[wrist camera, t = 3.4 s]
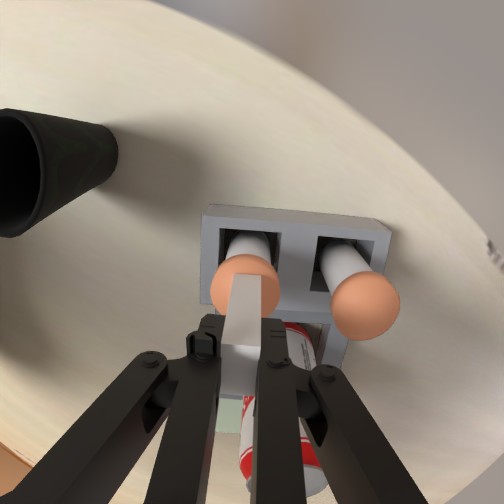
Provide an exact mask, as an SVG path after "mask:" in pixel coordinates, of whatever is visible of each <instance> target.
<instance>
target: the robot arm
mask: <svg viewBox="0 0 504 504" xmlns="http://www.w3.org/2000/svg"><path fill="white" fill-rule="evenodd" d="M186 345H187V356H185V357H183V358H180V359H174V360H167V358H166V357H165V356H164V354H162V353H160V352H155V351H146V352H143V353H141V354H139V355H138V356H136V357H135V359H134V360H133V361H132V362H131V363H130V364H129V365H128V366H127V367H126V368H125V369H124V370H123V371H122V372H121V373H120V375H119V376H118V377H117V378H116V379H115V380H114V381H113V382H112V383H111V384H110V385H109V386H108V387H107V388H106V389H105V391H104V392H103V393H102V394H101V395H100V396H99V397H98V398H97V399H96V400H95V401H94V402H93V403H92V405H91V406H90V407H89V408H88V409H87V410H86V411H85V412H84V413H83V414H82V415H81V416H80V417H79V419H78V420H77V421H76V422H75V423H74V424H73V425H72V426H71V427H70V428H69V429H68V430H67V432H66V433H65V434H64V435H63V436H62V437H61V438H60V439H59V440H58V441H57V442H56V443H55V445H54V446H53V447H52V448H51V449H50V450H49V451H48V452H47V453H46V454H45V455H44V457H43V458H42V459H41V460H40V461H39V462H38V463H37V464H36V465H35V466H34V468H33V469H32V470H31V471H30V472H29V473H28V474H27V475H26V476H25V478H24V479H23V480H22V481H21V482H20V483H19V484H18V485H17V486H16V488H15V489H14V490H13V491H11V492H9V493H7V494H5V495H3V496H1V497H0V504H108V503H109V501H110V500H111V499H112V497H113V496H114V494H115V493H116V491H117V490H118V488H119V487H120V486H121V484H122V483H123V481H124V480H125V478H126V477H127V475H128V474H129V472H130V471H131V470H132V468H133V467H134V465H135V464H136V462H137V461H138V459H139V458H140V456H141V455H142V453H143V452H144V450H145V449H146V447H147V446H148V445H149V443H150V442H151V440H152V439H153V437H154V436H155V434H156V433H157V431H158V430H159V428H160V427H161V425H162V424H163V422H164V421H165V419H166V418H167V416H168V419H167V422H166V426H165V429H164V433H163V436H162V440H161V443H160V447H159V450H158V454H157V457H156V461H155V464H154V468H153V472H152V475H151V479H150V483H149V486H148V490H147V494H146V498H145V501H144V503H143V504H205V500H206V493H207V486H208V478H209V471H210V464H211V457H212V449H213V442H214V435H215V428H216V421H217V414H218V407H219V393H220V394H231V395H243V396H255V401H254V409H253V417H254V418H253V445H252V471H251V496H250V504H307V500H306V489H305V477H304V466H303V456H302V446H301V436H300V426H299V417H300V421H301V424H302V426H303V428H304V430H305V433H306V435H307V437H308V439H309V442H310V444H311V446H312V448H313V451H314V453H315V455H316V457H317V459H318V462H319V464H320V466H321V468H322V470H323V473H324V475H325V477H326V479H327V481H328V484H329V486H330V488H331V490H332V492H333V494H334V497H335V499H336V501H337V503H338V504H428V502H427V501H426V499H425V497H424V496H423V494H422V493H421V491H420V490H419V488H418V487H417V485H416V484H415V482H414V480H413V479H412V477H411V476H410V474H409V473H408V471H407V470H406V468H405V467H404V465H403V463H402V462H401V460H400V459H399V457H398V456H397V454H396V453H395V451H394V450H393V448H392V447H391V445H390V444H389V442H388V440H387V439H386V437H385V436H384V434H383V433H382V431H381V430H380V428H379V427H378V425H377V424H376V422H375V421H374V419H373V418H372V416H371V415H370V413H369V411H368V410H367V408H366V407H365V405H364V404H363V402H362V401H361V399H360V398H359V396H358V395H357V393H356V392H355V390H354V389H353V387H352V386H351V384H350V383H349V381H348V380H347V378H346V377H345V375H344V374H343V372H342V371H341V370H340V369H339V368H337V367H335V366H333V365H328V364H321V365H317V366H315V367H314V368H313V369H312V371H310V370H306V369H302V368H300V367H298V366H296V365H294V364H293V362H292V360H291V358H290V357H289V353H288V344H287V335H286V326H285V324H284V323H283V321H282V320H281V319H277V318H262V317H261V275H251V274H238V273H234V276H233V281H232V287H231V292H230V297H229V303H228V308H227V313H226V315H216V314H206V315H205V316H204V317H203V318H202V319H201V322H200V325H199V328H198V331H194V332H192V333H190V334H188V336H187V337H186Z"/></svg>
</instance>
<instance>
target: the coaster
mask: <svg viewBox="0 0 504 504" xmlns="http://www.w3.org/2000/svg"><path fill="white" fill-rule="evenodd" d="M242 405H243V400H235V399H224V398H219V407H218V414H217V421H216V428H215V432H224V433H235V434H241V420H242Z"/></svg>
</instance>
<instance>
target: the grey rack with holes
mask: <svg viewBox="0 0 504 504" xmlns="http://www.w3.org/2000/svg"><path fill="white" fill-rule="evenodd" d="M225 228H228V229H241V230H254V231H267V232H277V242H276V251H275V261H274V269H275V271H276V273H277V275H278V279H279V286H280V299H279V303H278V305H277V307H276V309H275V310H274V311H273V312H272V313H271V314H270V315H269V316H268V317H266V318H277V319H281V320H282V321H283V322H299V323H320V324H323V326H322V331H321V336H320V340H319V345H318V349H317V353H316V358H315V360H316V365H321V364H328V365H333V366H335V367H337V368H339V369H340V367H341V364H342V361H343V357H344V354H345V350H346V347H347V343H348V339H349V338H347V337H345V336H344V335H342V334H341V333H340V331H339V330H338V329H337V327H336V324H335V321H334V319H333V316H332V313H331V308H330V304H331V298H332V296H331V293H330V291H329V289H328V286H327V284H326V281H325V279H324V277H323V274H322V272H320V271H313V266H314V260H315V253H316V246H317V239H318V236H326V237H337V238H348V239H357V245H356V250H357V251H358V253H359V254H360V255H361V257H362V258H363V259H364V260H365V262H366V263H367V264H368V266H369V267H370V268H371V269H372V271H373V272H377V273H379V274H381V275H383V273H384V268H385V264H386V259H387V255H388V250H389V245H390V240H391V235H392V232H391V231H390V230H388V229H387V228H386V227H385V226H383V225H382V224H381V223H380V222H378V221H377V220H376V219H371V218H363V217H354V216H344V215H335V214H325V213H315V212H304V211H294V210H282V209H270V208H258V207H245V206H231V205H216V204H210V205H209V206H208V208H207V209H206V210H205V212H204V213H203V214H202V219H201V262H200V304H211V305H213V303H212V300H211V295H210V289H211V284H212V280H213V277H214V274H215V272H216V270H217V268H218V267H219V265H220V264H221V263H222V262H223V252H224V231H225ZM215 314H216V315H221V314H220V313H219V312H218V311H217V309H216V308H215ZM219 398H224V399H235V400H243V395H231V394H220V393H219Z"/></svg>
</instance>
